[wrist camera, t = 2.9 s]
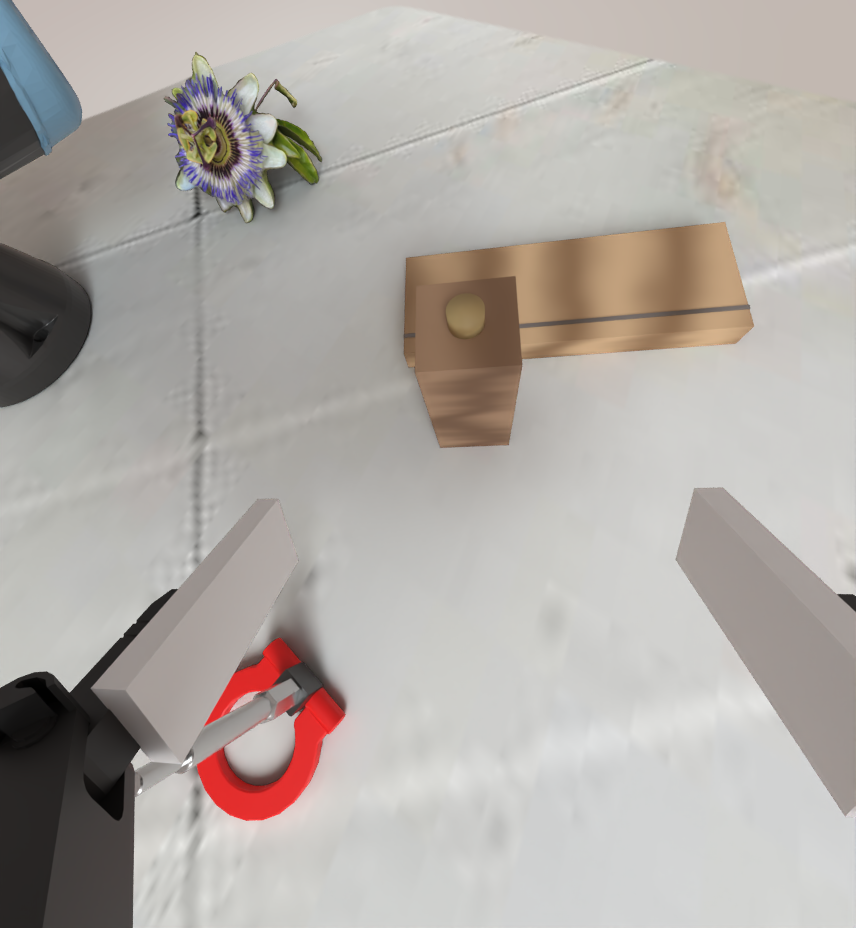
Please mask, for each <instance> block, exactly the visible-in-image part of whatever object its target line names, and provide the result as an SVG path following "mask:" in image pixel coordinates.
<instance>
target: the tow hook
mask: <svg viewBox="0 0 856 928" xmlns="http://www.w3.org/2000/svg"><path fill="white" fill-rule="evenodd" d="M263 655H264V658H263V659H262V660H261V661H260V662H259V663H258V664H257V665H252V666H250V667H247V668H245V669H242V670H240V671H237V672H235V673H234V674H233V676H232V678H231V679H230V681H229V683H228V685H227V686H226V688H225V690H224V692H223V693H222V695H221V697H220V699H219V700H218V702H217V704H216V706H215V707H214V709H213V711H212V713H211V714H210V716H209V718H208V720H207V721H206V723H205V725H204V727H203V728H202V730H201V732H200V734H199V735H198V737H197V739H196V741H195V742H194V744H193V746H192V748H191V749H190V751H189V753H188V755H187V756H186V758H185V760H184V761H183V763H182V764H172V763H160V762H150V763H148V764H146V765H144V766H142V767H141V768H139V769H137V770H135V771H134V772H135V797H137V796H138V795H140V794H141V793H143V792H145V791H146V790H148V789H149V788H151V787H153V786H154V785H156V784H157V783H159V782H160V781H162V780H164V779H165V778H167V777H168V776H170V775H171V774H173V773H176V774H183V773H185V772H187V771H188V770H190V769H191V768H193V767H194V766H196V765H197V768H198V773H199V776H200V778H201V781H202V783H203V786H204V788H205V790H206V792H207V793H208V794H209V796H210V797H211V799H212V800H213V801H214V803H215V804H216V805H217V806H218V807H220V808H221V809H222V810H224V811H225V812H226V813H228V814H229V815H231V816H234V817H237V818H240V819H243V820H246V821H249V820H264V819H267V818H270V817H272V816H275V815H278V814H280V813H281V812H282V811H284V810H285V809H286V808H287V807H289V806H290V805H291V804H293V803H294V802H295V801H296V799H297V798H298V797H299V796H300V795H301V793H302V792H303V791H304V789H305V788H306V787H307V785H308V784H309V783H310V781H311V779H312V777H313V774H314V772H315V770H316V767H317V765H318V763H319V757H320V752H321V747H322V739H323V738H324V737H325V736H326V734H330V733H331V732H332V731H333V730H334V729H335V728H336V727H337V726H338V724H339V723H340V722H341V721H342V720H343V718H344V717H345V715H346V714H345V713H344V712H343V711H342V709H341V708H340V707H339V706H338V705H337V704H336V702H335V701H334V700H333V699H332V698H331V697H330V695H329V694H328V693H327V692H326V691H325V689H324V688H323V684H322V683H321V682H320V681H319V680H318V678H317V677H316V676H315V675H314V674H313V673H312V671H311V670H310V669H309V668H308V667H307V665H306V664H305V663H304V662H301V661H300V660H299V659H298V658H297V656H296V655H295V654H294V653H293V652H292V650H291V649H290V648H289V647H288V646H287V645H286V643H285V642H284V641H283V640H282V639H281V638H277V639H276V640H274V641H273V642H272V643H270V644H269V645H268V646H267V647H266V649H265V650H264V651H263ZM255 691H261V692H259V693H258V694H256V695H255V696H254V698H253V700H252V701H250V702H248V703H247V704H245V705H243V706H241V707H239V708H237V709H235V710H234V711H232V712H230V710H231V708H232V707H233V705H234V704H235V703H236V702H237V700H238V699H239V698H241V697H242V696H243V695H245V694H247V693H249V692H255ZM303 707H305V708H304V710H303V711H302V712H301V713H300V714H299V716H298V717H297V718H296V719H295V722H294V728H295V748H294V753H293V758H292V760H291V762H290V764H289V767H288V769H287V771H286V772H285V773H284V774H283V776H282V777H281V778H280V779H278V780H277V781H276V782H273V783H271V784H268V785H263V786H254V785H251V784H248V783H245V782H244V781H242V780H241V779H239V778H238V777H237V776H236V775H235V774H234V773H233V771H232V770H231V769H230V767H229V765H228V763H227V760H226V758H225V755H224V749H223V747H225V746H226V745H228V744H229V743H231V742H232V741H234V740H236V739H237V738H239V737H240V736H242V735H243V734H245V733H246V732H248V731H249V730H251V729H252V728H254V727H255V726H257V725H259V724H262V723H265V722H268V721H271V720H273V719H275V718H277V717H278V716H280V715H281V714H283V713H284V712H287V713H288V715H289V716H292V715H294V714H295V713H296V712H298V711H299V710H301V709H302V708H303ZM229 712H230V713H229Z"/></svg>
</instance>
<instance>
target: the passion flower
mask: <svg viewBox="0 0 856 928" xmlns="http://www.w3.org/2000/svg"><path fill="white" fill-rule="evenodd" d="M192 70H193V75H192V79H191V83H190V81H189V80H186V83H185V86H186V87H185V88H183V87H182V86H181V87H182V89H180V88H174V89H172V94H173V96H174V97H175V98H176V100H177V102H176V101H175V100H172V99H171V98H170V97H165V98H164V100H165V102H167V103H168V104H170V105H172V106H173V107H174V108H176V109H175V111H174V113H175V115H172V114H170V113H169V114H168V116H169V118H171V119H172V123H171V124H170V123H168V124H167V125H168V126H170V127H172V129H171V131H172V132H173V133H169V134H168V135H169V136H171V137H175V138H176V139H177V141H178V144H179V145H180V150H179V152H178V154H177V155H176V156H175V158H176V160H177V163H178V165H179V168H180V170H179V173H178V175H177V178H176V181H175V184H176V187H177V189H179V190H181V191H188V190H192V189H193V188H194V187H199V188H200V189H201V190H202V191H204V192H206V193H207V194H209V195H210V196H212V197H214V196H215V197H216V200H217V202H218V204H219V206H220V208H221V210H222V211H223V212H225V213H226V211H228V210H230V209H231V208H232V207H233V206H236V207H237V208H238V209H239V211H240V214H241V216H242V217H243V219H244V221H245V222H246V223H248V222H250V221H251V220H252V219H253V214H254V207H253V204H252V200H251V198H255V199H256V200H257V201H258V202H259V203H261V205H262V206H264V207H267V208H269V209H273V207H274V204H275V195H274V191H273V189H272V187H271V185H270V183H269V181H268V177H267V170H270V169H278V168H283V167H284V166H285V165H286V163H288V164H289V165H290V166H291V167H292V168H293V169H294V170H295V171H297V172H298V173H299V174H300V175H301V176H302V177H303V178H304V179H305V180H306V181H308V182H309V183H310V184H313V183H314V182H315V183H317V182H318V180H319V178H318V175H317V170H316V168H315V167H314V165H313V163H312V161H311V159H310V158H309V156H308V155H307V153H306V152H305V151H304V149H303V148H302V147H301V146H299V145H298V144H296V143H295V142H293V141H292V140H291V139H293V140H295V141H296V142H297V143H299V144H300V145H302V146H304V147H305V148H306V149H307V150H309V151H310V152H312V153H313V154H314V155H315V156H316V157H317V158H318V160H319V161H320V162H322V158H321V156H320V155H319V152H318V151H317V149H316V147H315V146H314V143H313V141H312V140H310V139H309V136H308V135H307V133H306V132H305V131H303V130H302V129H301V128H299V127H298V126H296V125H294V124H292V123H289V122H287V121H283V120H280V119H276V118H275V117H274V116H273V115H271V114H269V113H268V114H265V113H258V112H256V111H257V109H258V107H259V106H260V104H261V103H262V102H263V100H264V98H265V97H266V95H267V94H268V92H269V91H270V89H271V88H272V86H273V85H274V84H276V85H275V90H277V91H279V92H280V93H282V94H283V95H284V96H286V97H287V98H288V100H289V102H290V103H291V105H292V106H293V108H295V107H296V105H297V101H296V99H295V98H294V97H293V96H292V95H291V94H290V93H289V92H288V90H287V89H286V88H285V87H283V86H282V85H281V84H280V83H279V81H278V80H277V79H275V80H274V82H273V83H272V84H271V85H270V86H269V88H268V89H267V91H266V92H265V94H264V95H263V97H262V98H261V100H260V101H259V103H258V105H257V107H256V109H255V110H254V105H255V102H256V100H257V95H258V92H259V84H258V80H257V78H256V76H255V75H254V74H253V73H249V74H248V75H247V76H245V77H243V78H242V79H241V80H239V81H238V82H237V84H236V85H235V86H234V87H233V88H232V89H230V90H229V91H226V94H225V95H223V93H222V87H221V88H220V89H219V87H218V84H217V81H216V79H215V76H214V74H213V71H212V69H211V68H210V66H209V64H208V62H207V60H206V59H205V58H204V57H203V56H201V55H198V54H197V52H195V55H194V57H193V59H192ZM288 137H289V138H288ZM290 138H291V139H290Z"/></svg>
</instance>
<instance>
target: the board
mask: <svg viewBox="0 0 856 928" xmlns="http://www.w3.org/2000/svg"><path fill="white" fill-rule="evenodd" d="M510 276H516V288H517V302H518V315H519V328H520V341H521V355H522V359H530V358H543V357H557V356H571V355H584V354H598V353H612V352H626V351H639V350H653V349H667V348H680V347H694V346H708V345H721V344H735V343H737V342H738V341H739V340H740V339H741V338H742V337H743V336H744V335H745V334H746V333H747V332H749V331H750V330H751V329H752V328H753V327H754V324H753V320H752V317H751V313H750V310H749V309H750V305H748V302H747V299H746V295H745V292H744V288H743V285H742V281H741V277H740V274H739V270H738V267H737V263H736V259H735V256H734V252H733V249H732V245H731V242H730V238H729V234H728V231H727V227H726V224H725V222H721V223H712V224H703V225H694V226H685V227H676V228H668V229H659V230H650V231H641V232H632V233H623V234H614V235H605V236H596V237H588V238H579V239H570V240H561V241H552V242H543V243H534V244H525V245H516V246H508V247H499V248H490V249H481V250H472V251H463V252H454V253H445V254H436V255H428V256H419V257H410V258H406V285H405V325H404V355H405V358H406V361H407V364H408V366H409V367H415V331H416V286H421V285H431V284H441V283H451V282H461V281H471V280H480V279H490V278H500V277H510Z"/></svg>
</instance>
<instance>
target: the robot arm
mask: <svg viewBox="0 0 856 928" xmlns="http://www.w3.org/2000/svg"><path fill="white" fill-rule="evenodd" d="M81 121H82V109H81V105H80V102H79V99H78V97H77V95H76V93H75V92H74V90H73V89H72V87H71V85H70V84H69V82H68V81H67V80H66V78H65V76H64V75H63V73H62V72H61V71H60V69H59V67H58V66H57V65H56V63H55V62H54V60H53V59H52V58H51V56H50V54H49V53H48V52H47V50H46V49H45V47H44V46H43V44H42V43H41V41H40V40H39V39H38V37H37V36H36V34H35V33H34V32H33V30H32V29H31V27H30V26H29V24H28V23H27V21H26V20H25V19H24V17H23V16H22V14H21V13H20V12H19V10H18V9H17V7H16V6H15V4H14V3H13V2H12V0H0V179H2V178H3V177H5V176H7V175H9V174H10V173H12V172H14V171H16V170H17V169H19V168H21V167H23V166H24V165H26V164H28V163H30V162H31V161H33V160H35V159H37V158H38V157H40V156H42V155H46V156H47V155H49V153H50V152H51V151H52V147H53V146H54V145H55V144H57V143H58V142H60V141H61V140H63V139H64V138H65V137H67V136H68V135H70V134H71V133H73V132H74V131H75V130H77V129H78V127H79V125H80V124H81ZM90 318H91V308H90V302H89V298H88V296H87V294H86V292H85V290H84V289H83V288H82V286H81V285H80V284H78V283H77V282H76V281H74V280H73V279H72V278H70V277H69V276H68V275H66V274H65V273H63V272H62V271H61V270H59V269H58V268H56V267H55V266H53V265H51V264H49V263H47V262H45V261H43V260H40V259H36V258H34V257H32V256H30V255H28V254H25V253H23V252H21V251H18V250H16V249H14V248H12V247H9V246H7V245H5V244H2V243H0V407H5V406H10V405H13V404H16V403H19V402H22V401H24V400H26V399H28V398H30V397H32V396H34V395H36V394H37V393H39V392H40V391H42V390H43V389H45V388H46V387H47V386H49V385H50V384H51V383H52V382H54V381H55V380H56V379H57V378H58V377H59V376H60V375H61V374H62V373H63V372H64V371H65V370H66V369H67V367H68V366H69V365H70V364H71V362H72V361H73V360H74V358H75V357H76V355H77V354H78V352H79V350H80V349H81V347H82V345H83V343H84V340H85V338H86V335H87V332H88V329H89V325H90ZM298 561H299V559H298V556H297V553H296V550H295V547H294V544H293V541H292V538H291V535H290V532H289V529H288V526H287V523H286V520H285V517H284V514H283V511H282V508H281V505H280V502H279V499H257V501H256V502H255V503H254V504H253V505H252V506H251V507H250V508H249V510H248V511H247V512H246V513H245V514H244V515H243V516H242V518H241V519H240V520H239V521H238V522H237V523H236V524H235V525H234V527H233V528H232V529H231V530H230V531H229V532H228V533H227V535H226V536H225V537H224V538H223V539H222V540H221V541H220V542H219V544H218V545H217V546H216V547H215V548H214V549H213V550H212V552H211V553H210V554H209V555H208V556H207V557H206V558H205V559H204V561H203V562H202V563H201V564H200V565H199V566H198V567H197V568H196V570H195V571H194V572H193V573H192V574H191V575H190V576H189V578H188V579H187V580H186V581H185V582H184V583H183V584H182V585H181V587H180V588H179V589H172V590H170V591H169V592H167V593H166V594H165V595H163V596H162V597H160V598H159V599H158V600H156V601H155V602H154V603H152V604H151V605H150V606H149V607H148V609H147V610H146V611H145V612H144V613H143V614H142V615H141V616H140V617H139V618H138V619H137V623H136V624H133V625H132V626H131V627H130V628H129V629H128V630H127V631H126V632H125V633H124V637H123V638H120V639H119V640H118V641H117V642H116V643H115V644H114V645H113V646H112V648H111V649H110V650H109V651H108V652H107V653H106V654H105V655H104V656H103V657H102V658H101V660H100V661H99V662H98V663H97V664H96V665H95V666H94V667H93V668H92V669H91V670H90V671H89V673H88V674H87V675H86V676H85V677H84V678H83V679H82V680H81V681H80V682H79V683H78V684H77V686H76V687H75V688H74V689H73V690H72V691H71V692H70V693H69V692H68V691H67V690H66V689H65V688H64V686H63V685H62V684H61V683H60V682H59V681H58V680H57V678H56V677H55V676H54V675H52V674H50V673H48V672H34V673H31V674H28V675H25V676H23V677H20V678H17V679H16V680H14V681H12V682H10V683H8V684H6V685H5V686H3V687H1V688H0V928H133V870H134V802H135V772H134V768H133V765H132V764H131V761H132V759H133V758H134V756H135V755H136V753H137V752H138V750H139V749H140V748H141V750H142V751H143V752H144V753H145V754H146V756H147V757H148V758H149V759H150V761H151V762H160V763H172V764H182V763H183V761H184V760H185V758H186V756H187V755H188V753H189V751H190V749H191V748H192V746H193V744H194V742H195V741H196V739H197V737H198V735H199V734H200V732H201V730H202V728H203V727H204V725H205V723H206V721H207V720H208V718H209V716H210V714H211V713H212V711H213V709H214V707H215V706H216V704H217V702H218V700H219V699H220V697H221V695H222V693H223V692H224V690H225V688H226V686H227V685H228V683H229V681H230V679H231V678H232V676H233V674H234V672H235V671H236V669H237V667H238V665H239V664H240V662H241V660H242V658H243V657H244V655H245V653H246V652H247V650H248V648H249V646H250V645H251V643H252V641H253V639H254V638H255V636H256V634H257V632H258V631H259V629H260V627H261V625H262V624H263V622H264V620H265V618H266V617H267V615H268V613H269V611H270V610H271V608H272V606H273V604H274V603H275V601H276V599H277V597H278V596H279V594H280V592H281V590H282V589H283V587H284V585H285V583H286V582H287V580H288V578H289V576H290V575H291V573H292V571H293V569H294V568H295V566H296V564H297V562H298ZM676 561H677V562H678V564H679V565H680V567H681V569H682V570H683V572H684V573H685V575H686V576H687V578H688V579H689V581H690V582H691V584H692V585H693V587H694V588H695V590H696V591H697V593H698V594H699V596H700V597H701V599H702V600H703V602H704V603H705V605H706V606H707V608H708V609H709V611H710V612H711V614H712V615H713V617H714V619H715V620H716V622H717V623H718V625H719V626H720V628H721V629H722V631H723V632H724V634H725V635H726V637H727V638H728V640H729V641H730V643H731V644H732V646H733V647H734V649H735V650H736V652H737V653H738V655H739V656H740V658H741V659H742V661H743V662H744V664H745V665H746V667H747V669H748V670H749V672H750V673H751V675H752V676H753V678H754V679H755V681H756V682H757V684H758V685H759V687H760V688H761V690H762V691H763V693H764V694H765V696H766V697H767V699H768V700H769V702H770V703H771V705H772V706H773V708H774V709H775V711H776V712H777V714H778V715H779V717H780V719H781V720H782V722H783V723H784V725H785V726H786V728H787V729H788V731H789V732H790V734H791V735H792V737H793V738H794V740H795V741H796V743H797V744H798V746H799V747H800V749H801V750H802V752H803V753H804V755H805V756H806V758H807V759H808V761H809V762H810V764H811V765H812V767H813V769H814V770H815V772H816V773H817V775H818V776H819V778H820V779H821V781H822V782H823V784H824V785H825V787H826V788H827V790H828V791H829V793H830V794H831V796H832V797H833V799H834V800H835V802H836V803H837V805H838V806H839V808H840V809H841V811H842V812H843V814H844V815H845V817H856V596H855V595H853V594H836V593H835V592H834V591H833V590H832V589H831V588H829V587H828V586H827V585H826V584H825V583H824V582H823V581H822V580H821V579H820V578H819V577H818V576H817V575H816V574H815V573H813V572H812V571H811V570H810V569H809V568H808V567H807V566H806V565H805V564H804V563H803V562H802V561H801V560H800V559H799V558H797V557H796V556H795V555H794V554H793V553H792V552H791V551H790V550H789V549H788V548H787V547H786V546H785V545H784V544H783V543H781V542H780V541H779V540H778V539H777V538H776V537H775V536H774V535H773V534H772V533H771V532H770V531H769V530H768V529H767V528H765V527H764V526H763V525H762V524H761V523H760V522H759V521H758V520H757V519H756V518H755V517H754V516H753V515H752V514H751V513H749V512H748V511H747V510H746V509H745V508H744V507H743V506H742V505H741V504H740V503H739V502H738V501H737V500H736V499H735V498H733V497H732V496H731V495H730V494H729V493H728V492H727V491H726V490H725V489H724V488H694V492H693V496H692V499H691V503H690V507H689V511H688V514H687V518H686V522H685V526H684V530H683V533H682V537H681V541H680V545H679V548H678V552H677V556H676Z"/></svg>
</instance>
